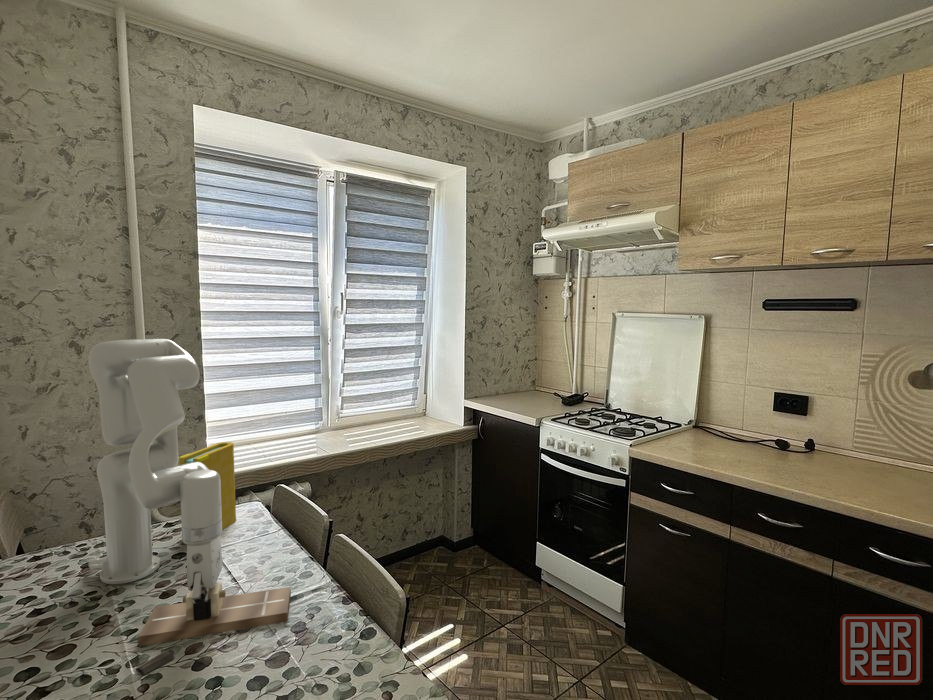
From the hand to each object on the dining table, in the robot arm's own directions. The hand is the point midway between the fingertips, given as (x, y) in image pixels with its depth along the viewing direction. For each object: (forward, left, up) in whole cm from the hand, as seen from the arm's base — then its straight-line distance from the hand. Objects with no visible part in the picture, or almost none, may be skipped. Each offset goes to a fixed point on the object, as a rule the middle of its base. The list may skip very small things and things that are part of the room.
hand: (205, 610), depth 103 cm
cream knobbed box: (0, 0, 0) cm, 0 cm away
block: (-6, -11, -3) cm, 13 cm away
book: (-8, +47, -3) cm, 48 cm away
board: (+3, 0, -2) cm, 4 cm away
